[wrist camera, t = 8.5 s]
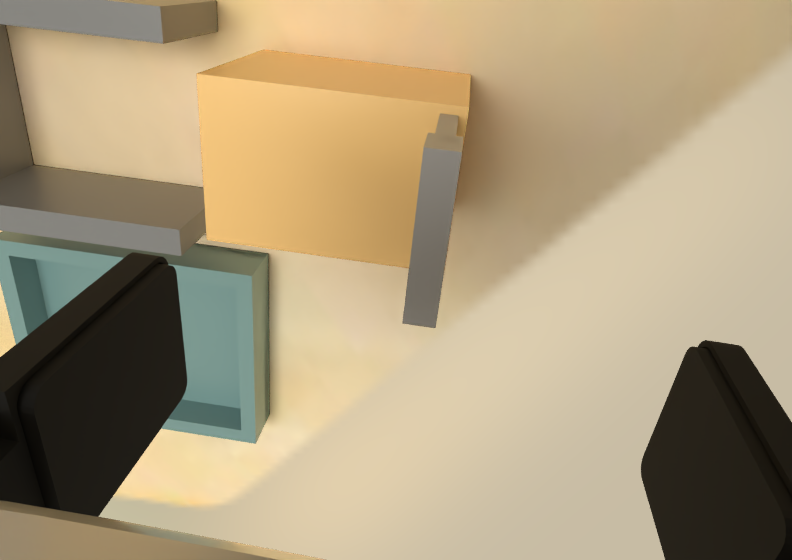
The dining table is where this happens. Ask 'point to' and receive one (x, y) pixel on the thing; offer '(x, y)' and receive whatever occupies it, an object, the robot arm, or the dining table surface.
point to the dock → (83, 191)
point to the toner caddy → (336, 162)
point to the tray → (200, 314)
